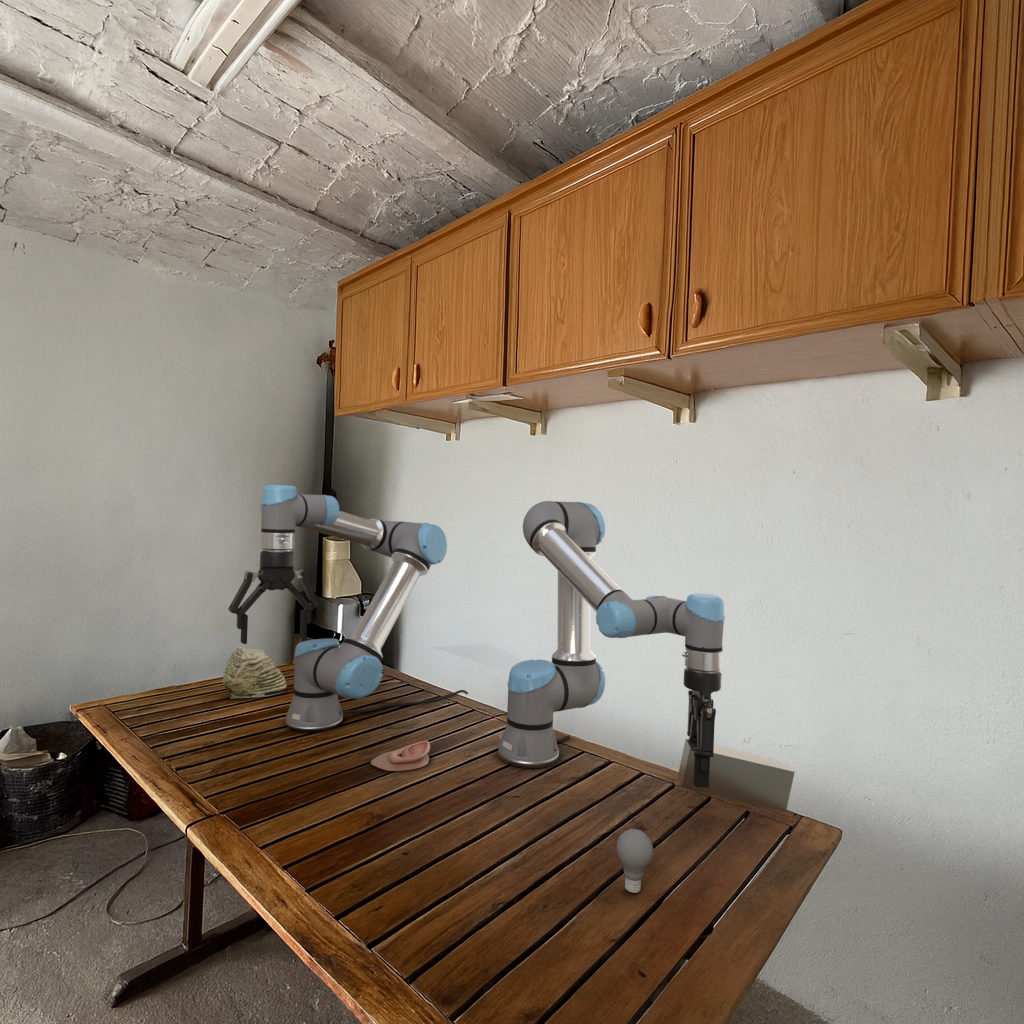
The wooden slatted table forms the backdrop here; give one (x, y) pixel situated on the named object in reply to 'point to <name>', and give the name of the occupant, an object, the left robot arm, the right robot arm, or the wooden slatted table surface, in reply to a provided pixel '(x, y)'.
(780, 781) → the bar
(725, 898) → the wooden slatted table surface
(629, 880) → the light bulb
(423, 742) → the anatomical model
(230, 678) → the fossil
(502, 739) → the right robot arm
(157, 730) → the wooden slatted table surface
